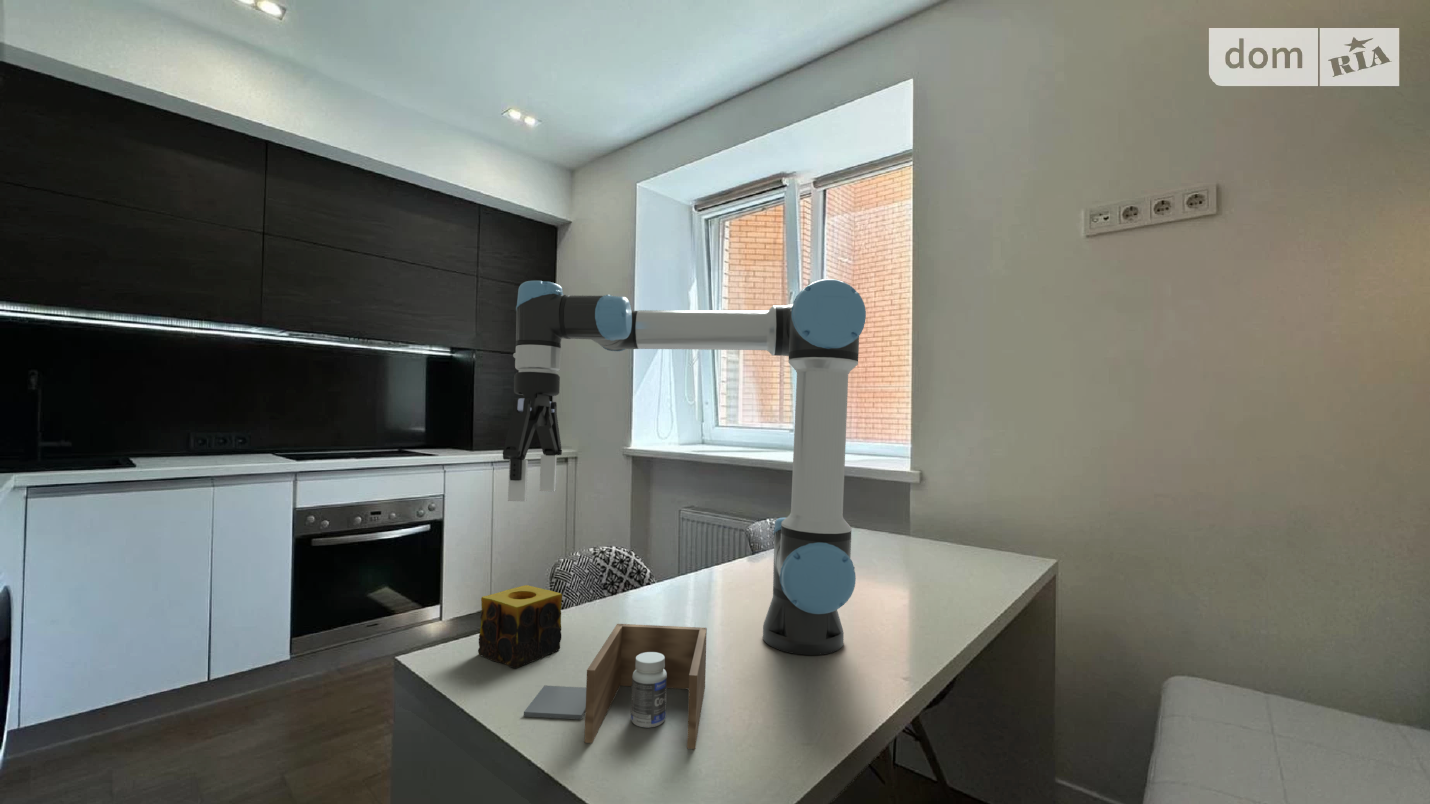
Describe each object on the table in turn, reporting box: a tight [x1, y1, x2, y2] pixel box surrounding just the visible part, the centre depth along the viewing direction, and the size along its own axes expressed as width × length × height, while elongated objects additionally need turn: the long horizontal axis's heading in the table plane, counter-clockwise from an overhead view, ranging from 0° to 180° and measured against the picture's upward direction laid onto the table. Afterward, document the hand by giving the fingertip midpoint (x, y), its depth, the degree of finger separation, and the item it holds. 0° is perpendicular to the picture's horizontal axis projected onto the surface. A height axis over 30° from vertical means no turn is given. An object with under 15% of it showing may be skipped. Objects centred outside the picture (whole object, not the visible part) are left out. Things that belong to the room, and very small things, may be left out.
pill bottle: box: [630, 652, 668, 729], centre depth 78 cm, size 5×5×8 cm
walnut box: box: [583, 623, 708, 750], centre depth 80 cm, size 14×17×9 cm
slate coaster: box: [523, 684, 586, 720], centre depth 82 cm, size 8×8×1 cm
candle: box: [477, 584, 563, 669], centre depth 100 cm, size 10×10×10 cm
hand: (533, 496), depth 98 cm, fingers open, 13 cm apart
